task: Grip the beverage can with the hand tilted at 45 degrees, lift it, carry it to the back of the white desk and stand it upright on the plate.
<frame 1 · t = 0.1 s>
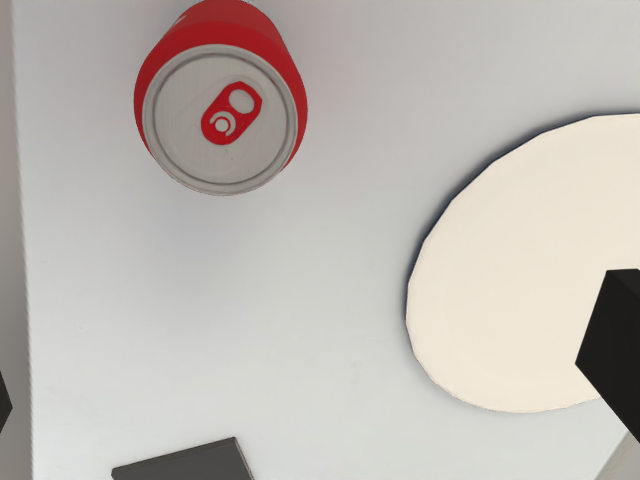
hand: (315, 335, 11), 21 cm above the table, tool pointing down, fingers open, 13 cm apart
beverage can: (227, 59, 28), on the table
plate: (566, 277, 39), on the table
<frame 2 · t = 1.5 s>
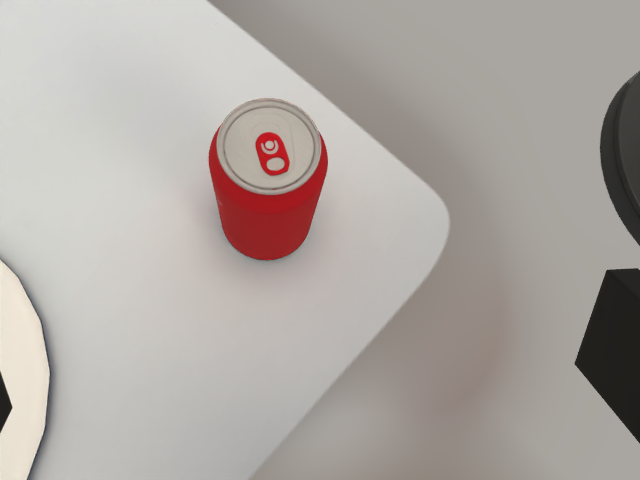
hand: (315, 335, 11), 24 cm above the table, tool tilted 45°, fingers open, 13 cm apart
beverage can: (265, 221, 38), on the table
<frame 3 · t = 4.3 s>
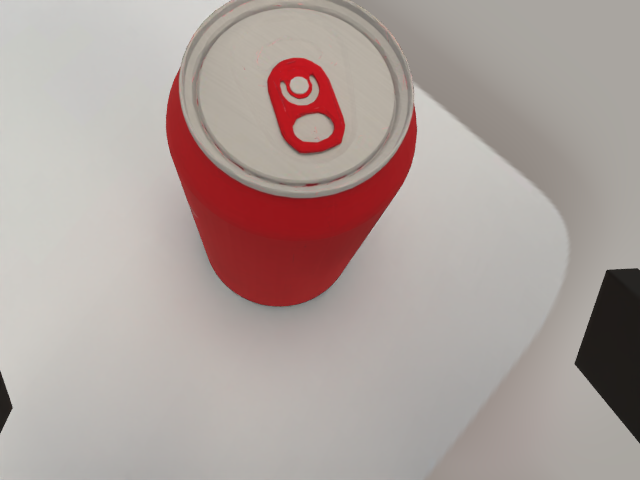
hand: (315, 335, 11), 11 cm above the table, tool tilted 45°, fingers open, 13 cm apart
beverage can: (277, 239, 23), on the table
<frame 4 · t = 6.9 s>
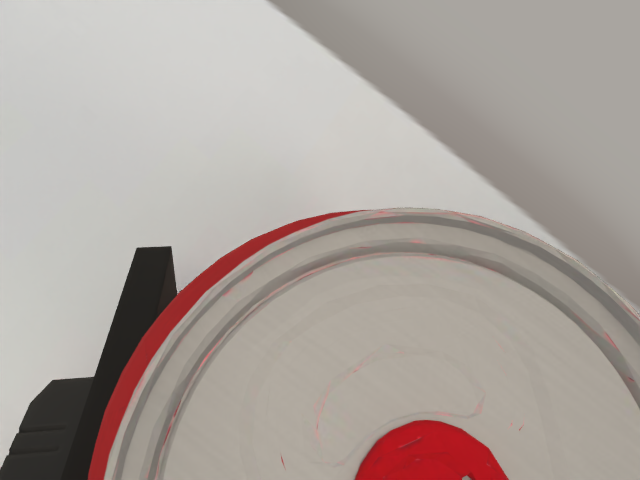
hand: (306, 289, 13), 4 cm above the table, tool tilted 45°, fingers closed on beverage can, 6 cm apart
beverage can: (301, 427, 16), on the table, touching gripper
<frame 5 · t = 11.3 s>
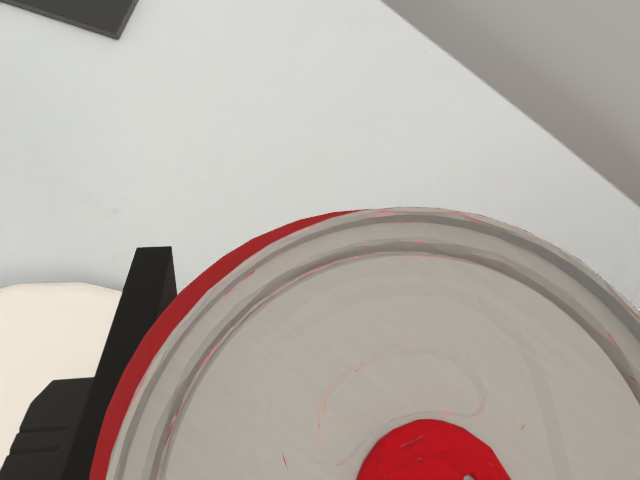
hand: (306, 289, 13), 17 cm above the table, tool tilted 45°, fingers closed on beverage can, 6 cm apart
beverage can: (302, 427, 16), point 13 cm above the table, touching gripper
when the fingers open (5 cm above the table, at t = 15.9 s): beverage can stays where it is, resting on plate.
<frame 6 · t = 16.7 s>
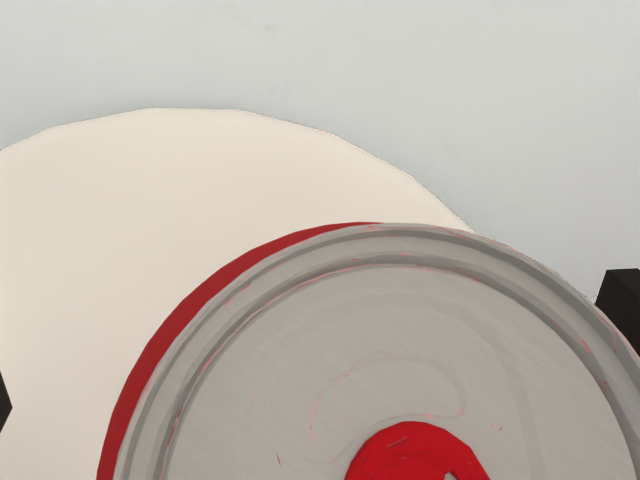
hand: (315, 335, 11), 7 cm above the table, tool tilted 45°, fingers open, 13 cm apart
beverage can: (300, 429, 16), point 1 cm above the table, touching plate
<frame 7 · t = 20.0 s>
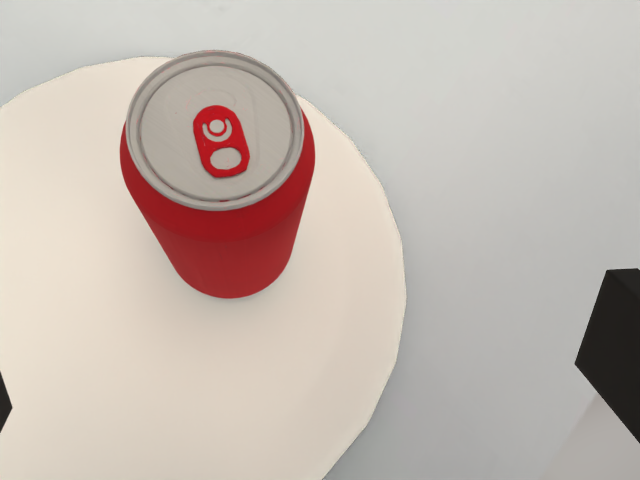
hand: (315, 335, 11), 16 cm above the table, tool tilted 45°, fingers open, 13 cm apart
beverage can: (231, 242, 27), point 1 cm above the table, touching plate
plate: (166, 277, 27), on the table, touching beverage can
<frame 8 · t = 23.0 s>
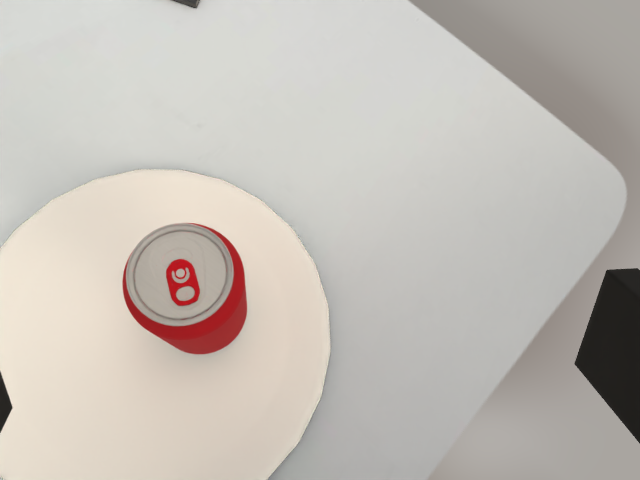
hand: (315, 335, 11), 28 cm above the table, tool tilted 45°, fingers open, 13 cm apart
beverage can: (202, 311, 37), point 1 cm above the table, touching plate
plate: (156, 335, 38), on the table, touching beverage can
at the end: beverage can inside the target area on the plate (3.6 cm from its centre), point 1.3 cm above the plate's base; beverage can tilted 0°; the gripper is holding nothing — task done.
